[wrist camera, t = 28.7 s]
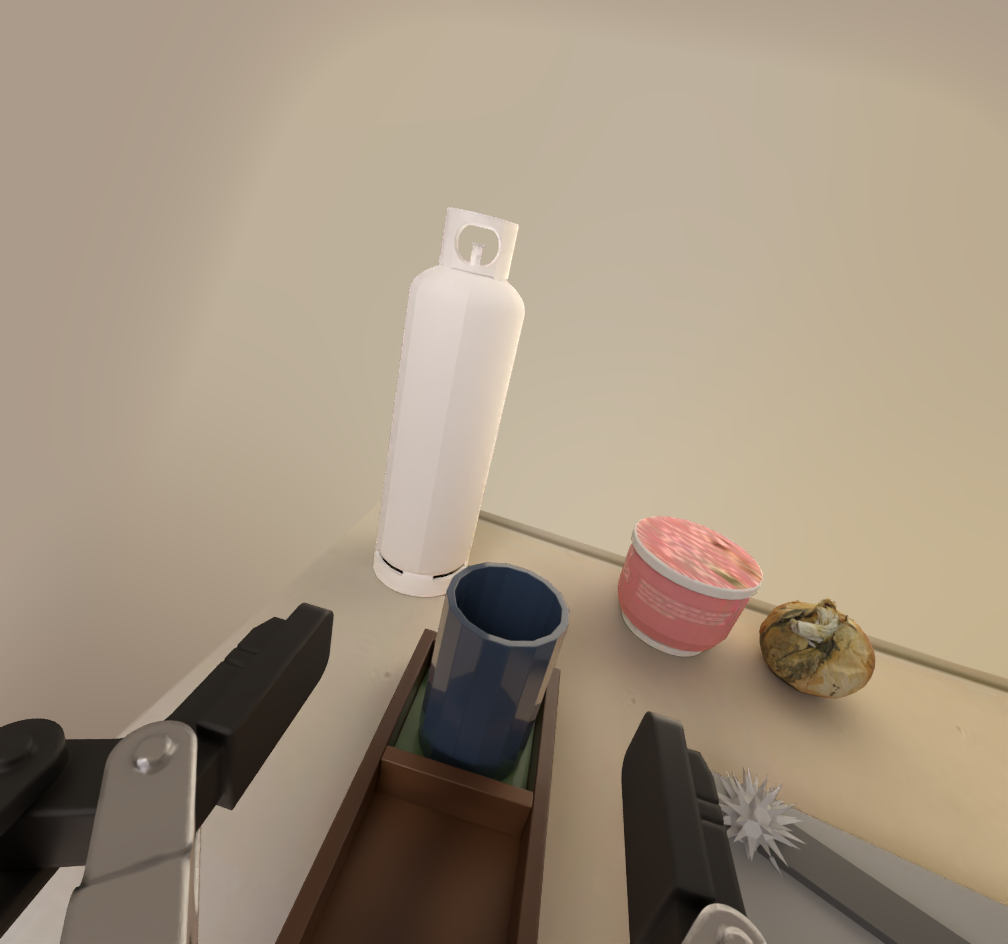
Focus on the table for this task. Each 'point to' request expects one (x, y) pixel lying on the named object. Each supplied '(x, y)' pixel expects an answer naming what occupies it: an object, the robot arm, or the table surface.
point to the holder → (431, 840)
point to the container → (684, 585)
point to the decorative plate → (840, 881)
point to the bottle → (447, 409)
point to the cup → (490, 667)
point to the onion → (817, 649)
